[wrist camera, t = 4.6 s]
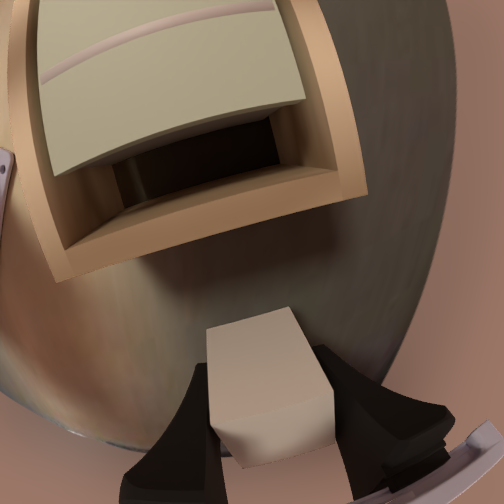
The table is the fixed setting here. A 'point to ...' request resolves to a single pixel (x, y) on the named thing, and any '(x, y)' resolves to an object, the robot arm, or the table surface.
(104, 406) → the table surface
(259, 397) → the pinkish beige block
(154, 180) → the table surface
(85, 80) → the pale grey flat block
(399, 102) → the table surface
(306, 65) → the box
